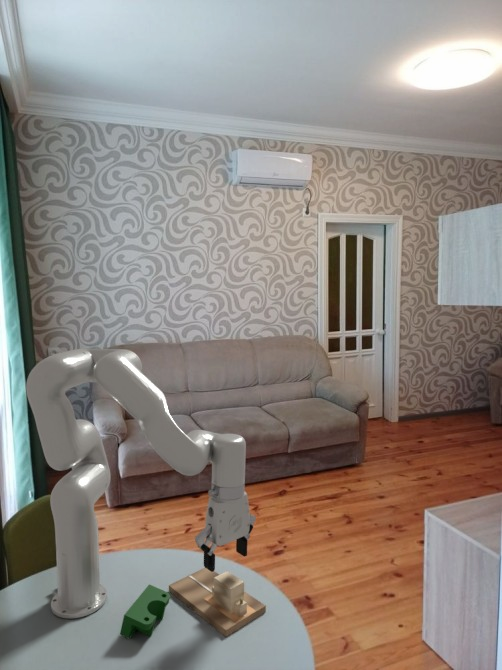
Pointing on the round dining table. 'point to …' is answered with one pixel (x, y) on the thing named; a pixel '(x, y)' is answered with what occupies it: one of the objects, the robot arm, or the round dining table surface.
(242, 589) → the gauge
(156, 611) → the clamp
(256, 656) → the round dining table surface
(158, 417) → the robot arm
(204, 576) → the board
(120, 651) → the round dining table surface
